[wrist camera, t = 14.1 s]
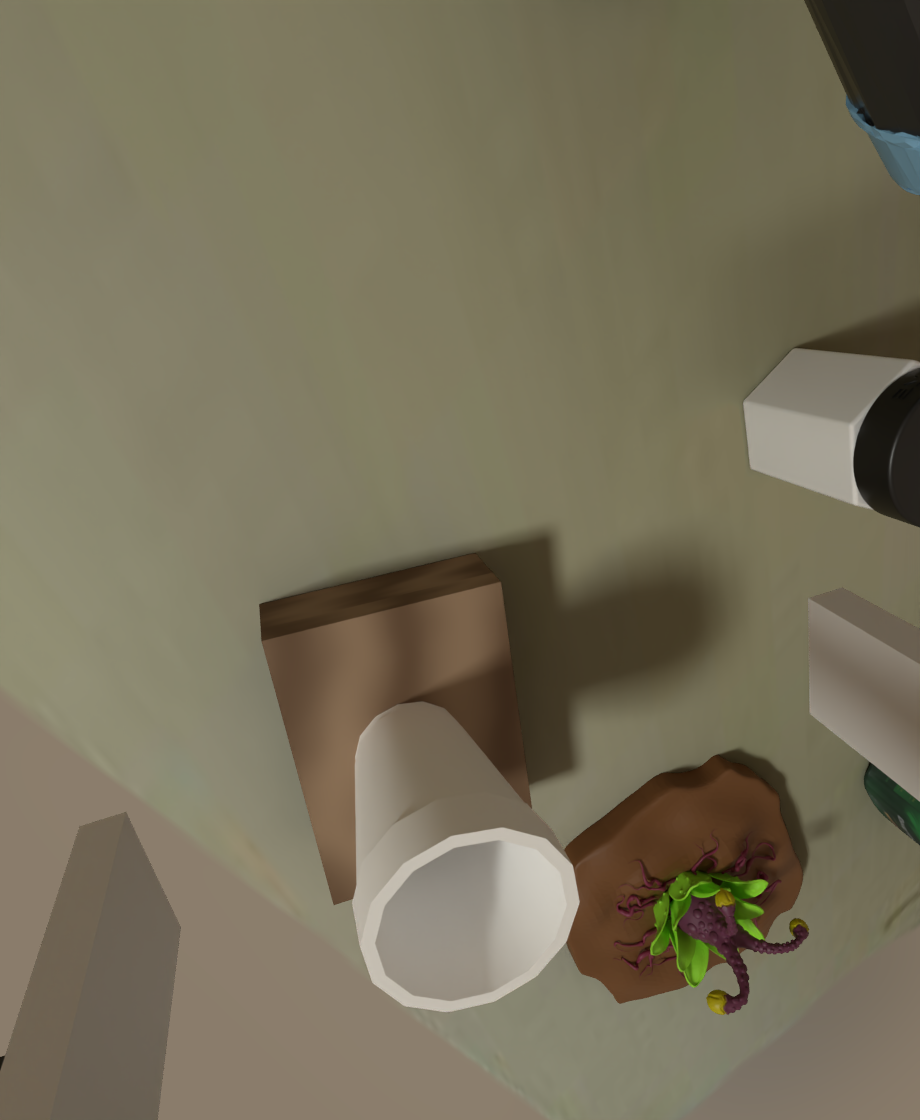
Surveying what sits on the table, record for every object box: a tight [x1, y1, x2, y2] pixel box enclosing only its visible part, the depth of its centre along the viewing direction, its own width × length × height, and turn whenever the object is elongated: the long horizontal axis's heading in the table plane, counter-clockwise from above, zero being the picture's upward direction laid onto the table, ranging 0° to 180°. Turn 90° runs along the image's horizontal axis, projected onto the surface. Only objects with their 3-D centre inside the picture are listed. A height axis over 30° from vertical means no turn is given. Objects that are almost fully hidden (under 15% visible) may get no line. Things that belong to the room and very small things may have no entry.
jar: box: [743, 348, 920, 527], centre depth 43 cm, size 9×8×12 cm
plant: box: [564, 755, 809, 1015], centre depth 55 cm, size 20×20×11 cm
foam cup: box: [352, 701, 580, 1012], centre depth 37 cm, size 10×9×13 cm
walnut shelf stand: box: [259, 553, 532, 905], centre depth 46 cm, size 13×18×5 cm
